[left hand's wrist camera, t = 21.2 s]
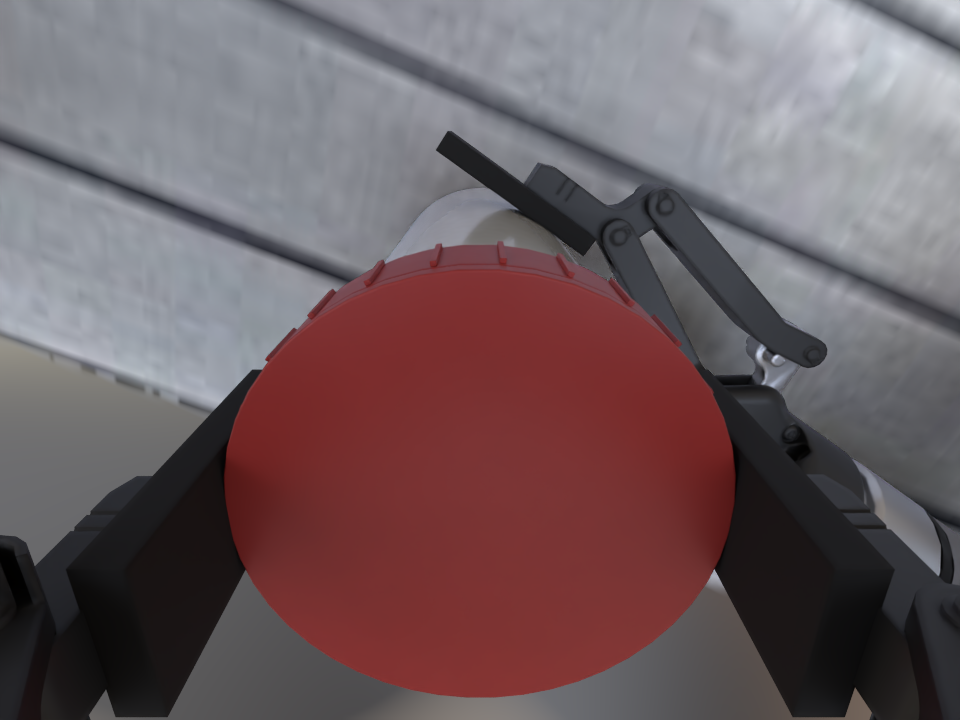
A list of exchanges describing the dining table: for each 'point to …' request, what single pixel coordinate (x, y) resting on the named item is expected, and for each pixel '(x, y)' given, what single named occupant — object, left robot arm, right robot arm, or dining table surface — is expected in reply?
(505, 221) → the jar
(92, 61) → the dining table surface
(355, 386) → the lid
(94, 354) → the dining table surface
